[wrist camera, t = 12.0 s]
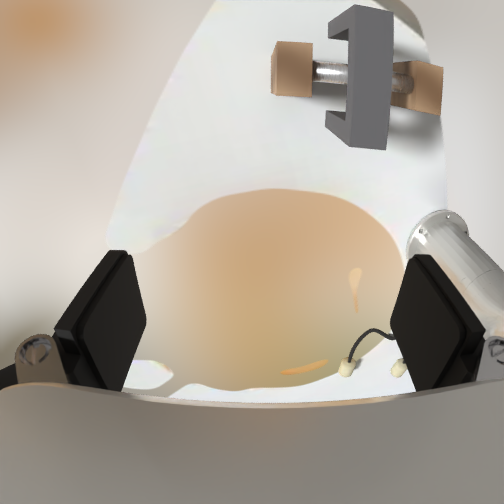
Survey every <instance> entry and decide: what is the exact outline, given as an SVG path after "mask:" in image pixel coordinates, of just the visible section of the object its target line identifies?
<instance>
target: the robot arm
mask: <svg viewBox="0 0 504 504" xmlns="http://www.w3.org/2000/svg"><path fill="white" fill-rule="evenodd" d="M406 257H407V261H408V263H407V267H406V270H405V274H404V277H403V281H402V284H401V288H400V291H399V294H398V297H397V301H396V304H395V307H394V310H393V313H392V316H391V319H390V326H391V329H392V332H393V334H394V336H395V339H396V341H397V344H398V346H399V348H400V351H401V353H402V356H403V358H404V361H405V363H406V366H407V368H408V371H409V374H410V376H411V379H412V381H413V384H414V387H415V389H416V392H412V393H405V394H398V395H390V396H382V397H373V398H363V399H352V400H339V401H324V402H302V403H238V402H215V401H199V400H186V399H175V398H165V397H156V396H147V395H140V394H132V393H125V392H121V390H122V388H123V385H124V382H125V379H126V377H127V374H128V371H129V368H130V366H131V363H132V360H133V358H134V354H135V352H136V350H137V347H138V345H139V342H140V339H141V337H142V334H143V331H144V329H145V326H146V314H145V310H144V306H143V302H142V298H141V293H140V289H139V285H138V280H137V276H136V272H135V267H134V262H133V258H132V256H131V255H128V253H127V252H126V251H125V250H109V251H108V252H107V254H106V255H105V256H104V258H103V259H102V260H101V262H100V263H99V264H98V266H97V267H96V268H95V270H94V271H93V272H92V274H91V275H90V277H89V278H88V279H87V281H86V282H85V283H84V285H83V286H82V288H81V289H80V290H79V292H78V293H77V295H76V296H75V298H74V299H73V301H72V302H71V303H70V305H69V307H68V308H67V309H66V311H65V312H64V314H63V315H62V317H61V318H60V320H59V321H58V323H57V324H56V326H55V328H54V330H55V333H54V334H53V336H52V337H51V336H49V335H46V334H36V335H33V336H30V337H29V338H27V339H26V340H24V341H23V342H22V343H21V344H20V345H19V347H18V348H17V350H16V352H15V364H12V365H10V366H8V367H6V368H4V369H2V370H0V504H504V272H503V270H502V269H501V268H500V267H499V266H498V265H497V264H496V263H495V262H494V261H493V260H492V259H491V258H490V257H489V256H488V255H487V254H486V253H485V252H484V251H483V250H482V249H481V248H480V247H479V246H478V245H477V244H476V243H475V242H474V241H473V240H472V239H471V238H470V237H469V234H468V228H467V225H466V223H465V221H464V220H463V219H462V218H461V217H460V216H459V215H458V214H456V213H455V212H452V211H448V210H440V211H436V212H433V213H431V214H429V215H427V216H426V217H425V218H423V219H422V220H421V221H420V222H419V223H418V224H417V225H416V227H415V228H414V229H413V231H412V233H411V235H410V237H409V239H408V242H407V248H406Z"/></svg>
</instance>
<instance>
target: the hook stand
mask: <svg viewBox="0 0 504 504" xmlns="http://www.w3.org/2000/svg"><path fill="white" fill-rule="evenodd" d="M312 52H313V43H301V42H283V41H277V43H276V46H275V48H274V51H273V53H272V56H271V93H273V94H275V95H277V96H299V97H312V81H315V82H327V83H337V84H346V85H347V79H348V64H340V63H331V62H321V61H312ZM442 87H443V67H439V66H436V65H432V64H428V63H425V62H421V61H407V62H396V63H393V72H392V90H391V104H390V105H394V106H398V107H402V108H407V109H411V110H415V111H420V112H425V113H430V114H435V115H439V116H440V114H441V101H442Z"/></svg>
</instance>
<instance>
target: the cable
mask: <svg viewBox="0 0 504 504" xmlns="http://www.w3.org/2000/svg"><path fill="white" fill-rule="evenodd" d="M371 332H377V333H379V334H380V335H382V336H384V337H385V338H387V339H389V340H395V336H394V337H392V336H389V335H387V334H386V333H384V332H382V331H381V330H379V329H375V328H371V329H369V330H367V331H366V332H364V333H363V334H362V335H361V336H360V337H359V338H358V340H357V341H356V342H355V344H354V345H353V347H352V349H351V352H350V354H349V357H346V358H344V359H343V360H342V362H341V365H340V367H339V370H338V372H339V374H340V375H341V376H343V377H349V376H351V375H352V373H353V370H354V368H355V366H356V362H355V360H354V359H353V358H352V356H353V353H354V351H355V349H356V347H357V346H358V344H359V342H360V341H361V340H362V339H363V338H364V337H365V336H366V335H368V334H369V333H371ZM406 370H407V366H406V363H405V361H404V359H398V360H397V362H396V363H395V364H394V365H393V367H392V368H391V374H392V375H393V376H394V377H397V378H399V377H401V376H402V375H403V373H404V372H405V371H406Z"/></svg>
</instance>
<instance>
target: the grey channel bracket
mask: <svg viewBox="0 0 504 504" xmlns="http://www.w3.org/2000/svg"><path fill="white" fill-rule="evenodd" d="M328 38H330V39H338V40H346V41H349V44H348V79H347V100H346V112H339V111H328V110H326V119H325V127H326V128H328V129H329V130H330V131H331V132H332V133H334V134H335V135H336V136H337V137H338V138H340V139H341V140H342V141H343V142H344V143H345V144H347V145H348V146H349V147H357V148H368V149H378V150H386V145H387V136H388V126H389V116H390V104H391V90H392V72H393V39H394V19H393V12H390V11H386V10H381V9H376V8H371V7H366V6H361V5H353V6H352V7H350V8H349V9H347V10H346V11H344V12H343V13H342V14H340V15H339V16H337V17H336V18H334V19H333V20H332V21H330V22H329V23H328Z"/></svg>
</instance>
